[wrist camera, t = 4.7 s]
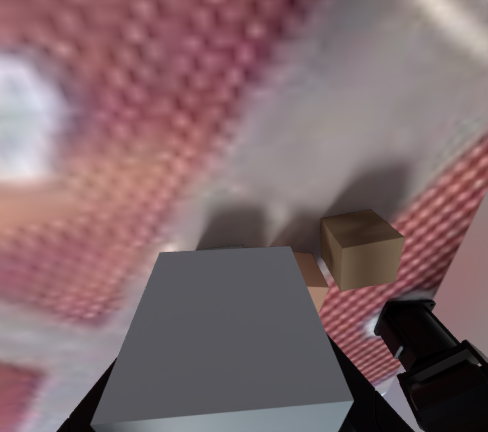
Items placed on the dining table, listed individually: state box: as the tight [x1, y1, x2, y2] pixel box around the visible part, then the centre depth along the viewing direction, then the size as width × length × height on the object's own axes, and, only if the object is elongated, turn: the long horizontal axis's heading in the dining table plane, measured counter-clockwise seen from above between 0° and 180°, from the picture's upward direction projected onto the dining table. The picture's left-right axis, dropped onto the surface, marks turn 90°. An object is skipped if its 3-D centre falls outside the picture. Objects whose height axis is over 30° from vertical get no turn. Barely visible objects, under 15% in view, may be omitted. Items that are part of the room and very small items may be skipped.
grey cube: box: [90, 246, 354, 432], centre depth 8 cm, size 5×5×5 cm
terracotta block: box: [293, 252, 329, 313], centre depth 23 cm, size 5×5×5 cm
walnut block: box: [321, 209, 405, 291], centre depth 21 cm, size 5×5×5 cm
